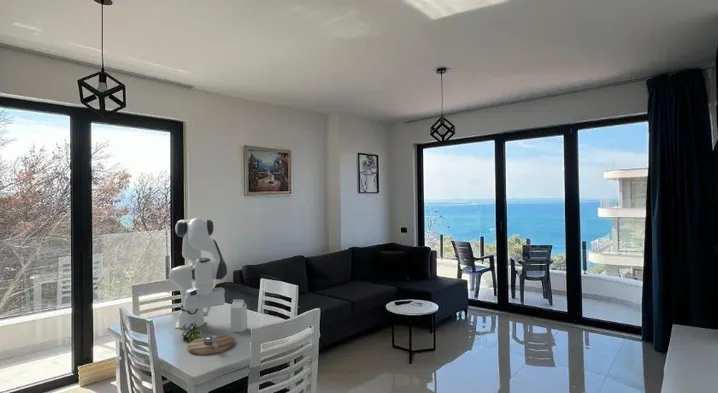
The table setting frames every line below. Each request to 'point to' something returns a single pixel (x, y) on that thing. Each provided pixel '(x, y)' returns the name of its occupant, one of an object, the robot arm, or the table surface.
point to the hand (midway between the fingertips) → (205, 316)
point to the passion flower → (190, 329)
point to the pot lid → (208, 340)
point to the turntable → (218, 345)
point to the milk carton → (238, 316)
